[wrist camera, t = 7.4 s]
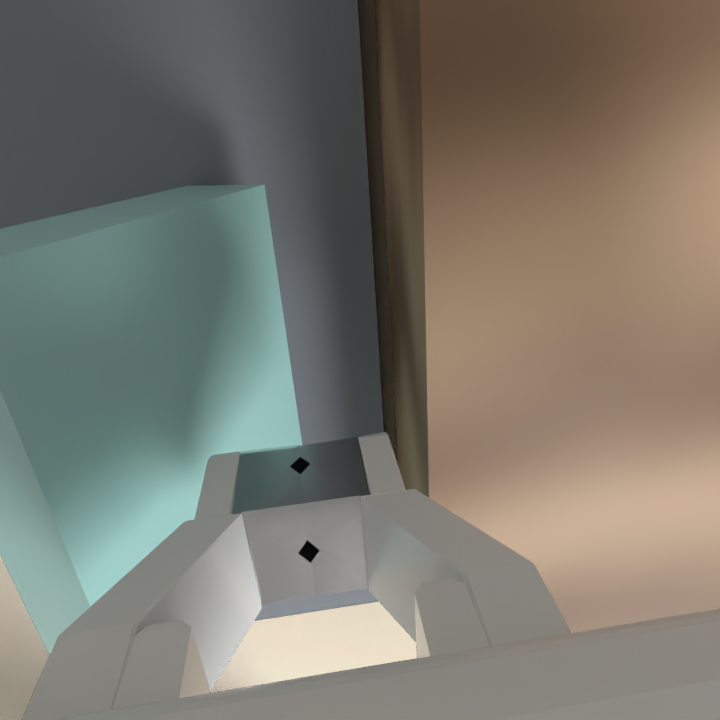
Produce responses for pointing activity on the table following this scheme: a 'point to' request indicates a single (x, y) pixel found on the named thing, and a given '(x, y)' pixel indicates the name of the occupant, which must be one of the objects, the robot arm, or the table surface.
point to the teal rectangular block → (130, 380)
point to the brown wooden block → (561, 286)
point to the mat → (215, 159)
